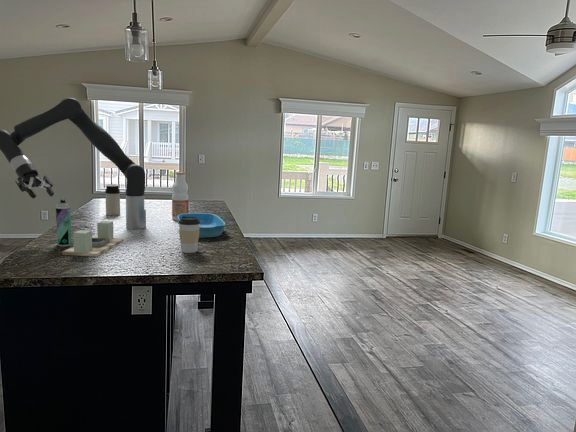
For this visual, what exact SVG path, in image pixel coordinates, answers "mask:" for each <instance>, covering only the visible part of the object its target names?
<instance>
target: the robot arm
mask: <svg viewBox="0 0 576 432" xmlns="http://www.w3.org/2000/svg"><path fill="white" fill-rule="evenodd" d="M66 120H69V121H70V122H71V123H73V124H74V125H75V126H76V127H77V128H78V129H79V130H80V132H81V133H82V134H83V135H84V136H85V137H86V138H87V140H88V141H89V142H90V143H91V144H92V145H93V146H94V147H95V148H96V149H97V150H98V151H99V152H100V153H101V154H102V155H103V156H104V157H105V158H107V159H108V160H109V161H111V163H112V164H114V165H115V166H116V167H117V168H118V169H119V170H120V172H121V173H122V174H123V176H124V177H125V178H126V189H125V227H126V229H130V230H140V229H143V228H144V229H146V228H147V216H146V215H147V211H146V209H145V191H146V171H145V169H144V168H143V167H142V166H141V165H139V164H137V163H135V162H134V161H133V160H131V158H129V157H128V156H127V154H126V153H125V152H124V151H123V149H122V147H121V146H120V145H119V144H118V142H117V141H116V140H115V139H114V138H113V137H112V135H110V133H108V131H106V130H105V129H104V128H103V127H102V126H100V125H99V123H97V122H95V120H93V119H92V118H91V117H90V116H89V115H88V113H86V112H85V110H84V109H83V108H82V105H81V102H79V100H77V99H76V98H74V97H65V98H64V99H62V100H61V101H60V102H59V103H57V105H55V106H53V107H52V108H50V109H49V110H47V111H44V112H42V113H40V114H37V115H34V116H32V117H30V118H27V119H26V120H23V121H21V122H19V123H17V124H16V125H14V126H13V132H11V133H9V132H8V131H7V130H5V129H0V151H1V152H2V154H3V155H4V157H5V158H6V161H8V163H9V164H10V166H11V168H12V170H14V172H15V174H16V175H17V178H16V180H15V183H16V185H17V186H18V187H17V188H19V189H20V192H26V193H27V194H28V196H30V198H31V199H36V197H37V194H36V192H35V191H34V190H33V189H32V188H40V189H44V190H46V193H47V194H48V195H49V197H53V196H54V194H55V192H54V189H52V188H53V187H54V183H53V182H52V181H51V180H50V178H49V177H48V175H44V176H40V175H39V172H38V170H37V168H36V167H35V165H34V164H33V163H32V162H31V160H30V159H29V158H28V157H27V156H26V154H25V152H23V150H22V149H21V148H20V146H19V145H21V144H22V143H24V142H25V140H27V139H29V138H31V137H33V136H35V135H37V134H40V133H41V132H42V131H44V130H46V129H48V128H49V127H51V126H53V125H55V124H58V123H60V122H62V121H66Z"/></svg>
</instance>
